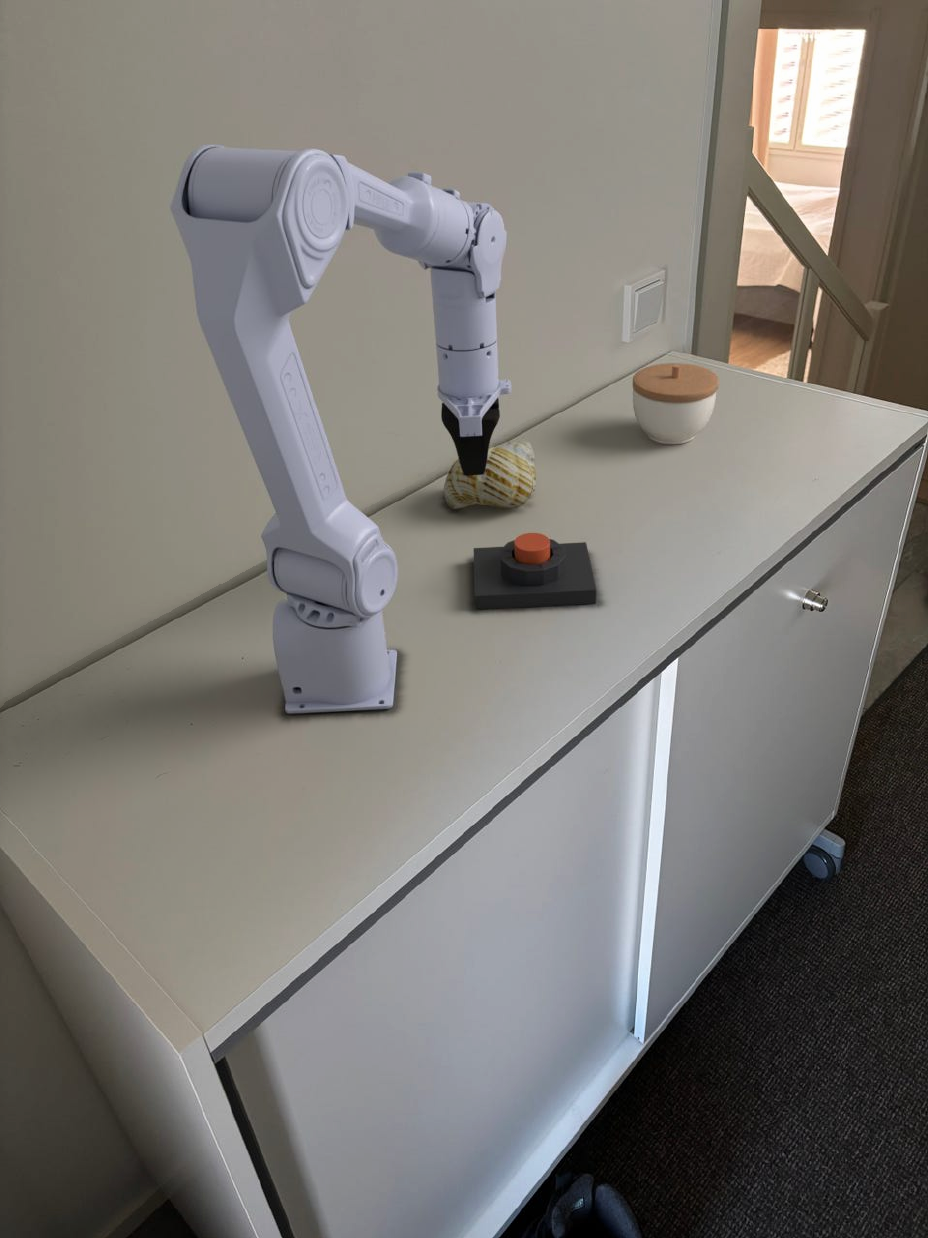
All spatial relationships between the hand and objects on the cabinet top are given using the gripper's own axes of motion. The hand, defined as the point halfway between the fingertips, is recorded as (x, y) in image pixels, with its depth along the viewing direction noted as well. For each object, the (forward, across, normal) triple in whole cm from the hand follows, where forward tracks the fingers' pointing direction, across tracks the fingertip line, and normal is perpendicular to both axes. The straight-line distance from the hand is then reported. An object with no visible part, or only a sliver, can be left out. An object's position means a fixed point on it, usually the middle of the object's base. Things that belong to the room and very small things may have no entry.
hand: (473, 472), depth 93 cm
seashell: (+11, +13, -2) cm, 17 cm away
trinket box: (+11, +28, -26) cm, 40 cm away
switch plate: (+10, -5, -6) cm, 13 cm away
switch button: (+7, -5, -5) cm, 10 cm away
